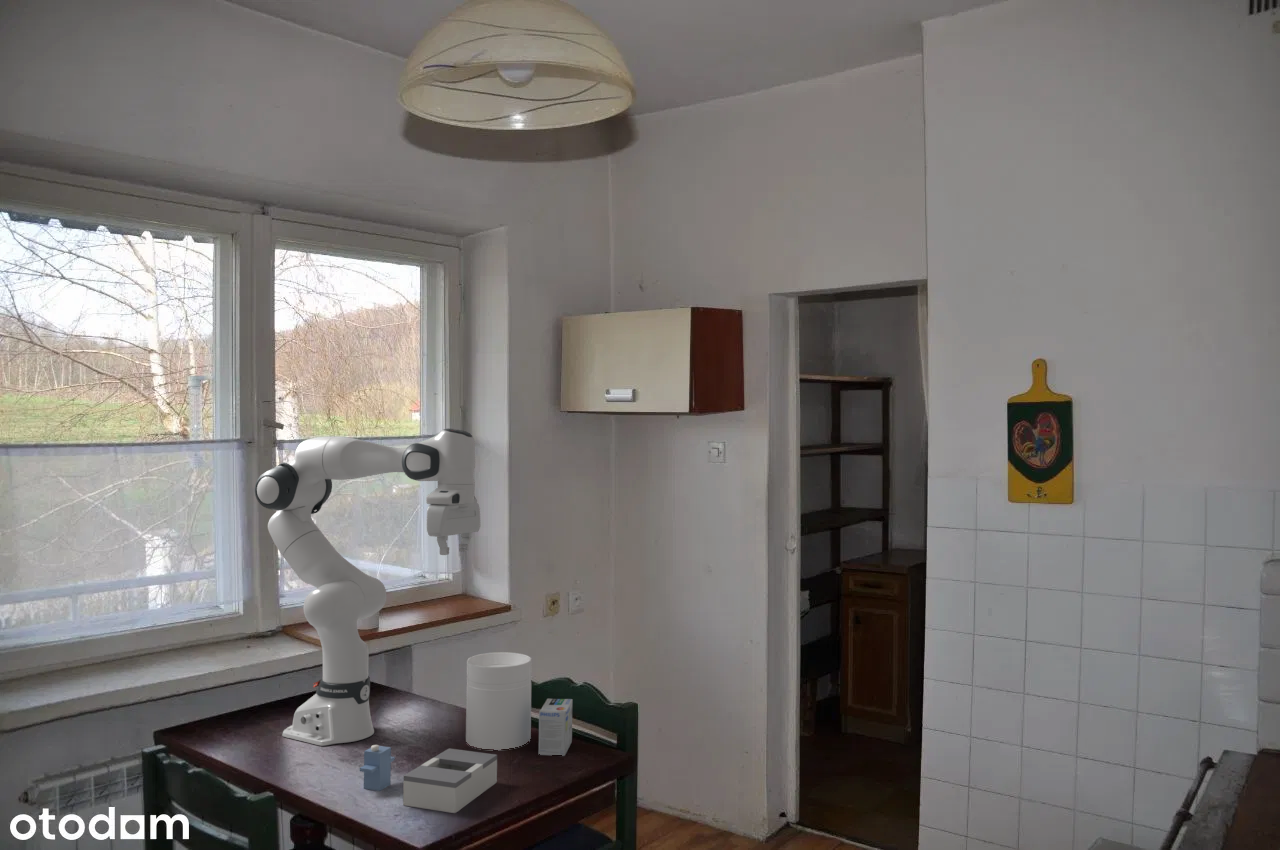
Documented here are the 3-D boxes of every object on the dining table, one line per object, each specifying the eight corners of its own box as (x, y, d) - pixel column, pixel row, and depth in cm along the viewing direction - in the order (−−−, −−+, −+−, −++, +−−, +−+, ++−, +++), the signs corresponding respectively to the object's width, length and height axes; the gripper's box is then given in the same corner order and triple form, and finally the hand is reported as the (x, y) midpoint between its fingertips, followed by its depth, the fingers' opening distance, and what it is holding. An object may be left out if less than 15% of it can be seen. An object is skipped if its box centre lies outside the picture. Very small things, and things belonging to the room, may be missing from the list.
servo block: (357, 792, 198) (357, 749, 198) (380, 778, 206) (381, 737, 206) (373, 794, 196) (374, 751, 196) (396, 780, 204) (396, 739, 204)
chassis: (403, 805, 191) (403, 775, 191) (448, 775, 208) (448, 748, 208) (455, 813, 187) (455, 783, 187) (496, 782, 204) (497, 754, 204)
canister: (493, 726, 244) (494, 649, 244) (543, 736, 236) (544, 657, 236) (452, 743, 230) (453, 661, 230) (503, 754, 222) (504, 670, 222)
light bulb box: (546, 741, 232) (546, 697, 233) (572, 742, 232) (573, 698, 232) (537, 755, 222) (538, 709, 222) (565, 756, 221) (566, 710, 221)
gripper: (465, 494, 237) (463, 548, 237) (422, 496, 218) (420, 556, 217) (487, 494, 235) (485, 550, 235) (446, 497, 216) (444, 557, 215)
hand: (454, 553), depth 226 cm, fingers open, 8 cm apart
